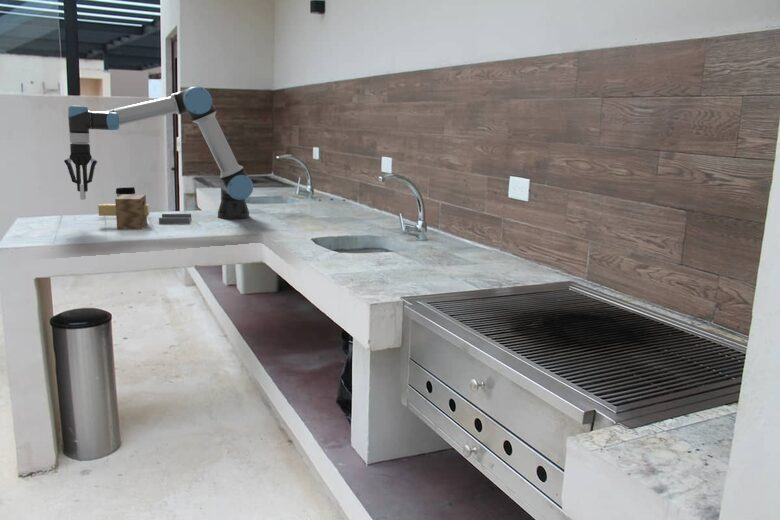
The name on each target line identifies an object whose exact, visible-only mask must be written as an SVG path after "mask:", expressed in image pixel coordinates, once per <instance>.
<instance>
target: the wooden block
mask: <svg viewBox="0 0 780 520" xmlns="http://www.w3.org/2000/svg"><path fill="white" fill-rule="evenodd" d="M146 195H147V194H136V193H135V194H122V195H120V196H119V197H117V196H116V198H115V200H114V201H115V203H114V204H116V216H115V218H116V219H115V220H116V230H143V229H144V227H146V226H147V224H148V219H147V217H148V216H143V205H142V204H147V199H146V198H147V196H146Z"/></svg>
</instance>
